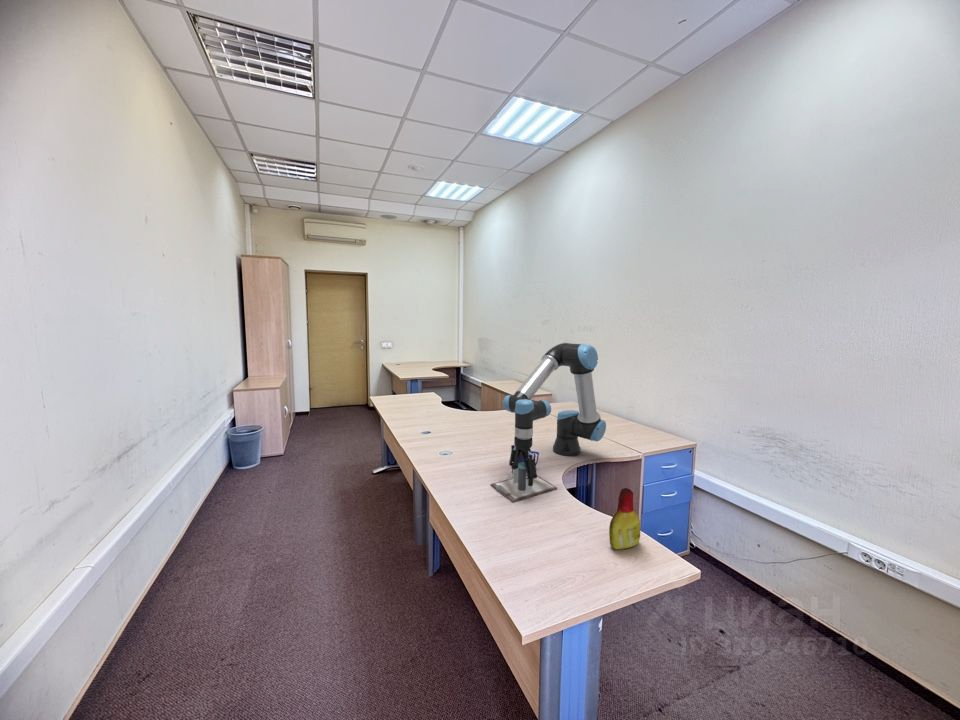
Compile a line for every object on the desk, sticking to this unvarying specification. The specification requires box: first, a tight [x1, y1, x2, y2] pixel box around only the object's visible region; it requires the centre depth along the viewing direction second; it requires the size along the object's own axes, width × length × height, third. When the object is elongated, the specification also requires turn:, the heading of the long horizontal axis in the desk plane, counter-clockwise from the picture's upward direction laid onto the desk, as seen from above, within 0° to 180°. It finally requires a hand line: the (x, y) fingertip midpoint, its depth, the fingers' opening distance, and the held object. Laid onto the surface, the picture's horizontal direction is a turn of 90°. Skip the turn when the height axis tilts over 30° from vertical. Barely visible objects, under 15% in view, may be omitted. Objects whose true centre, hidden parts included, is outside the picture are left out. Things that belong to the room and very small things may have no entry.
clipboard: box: [489, 474, 558, 504], centre depth 160 cm, size 24×17×2 cm
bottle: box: [608, 487, 641, 550], centre depth 119 cm, size 12×6×20 cm, turn 111°
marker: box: [518, 462, 527, 493], centre depth 154 cm, size 4×4×12 cm
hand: (521, 487), depth 154 cm, fingers open, 9 cm apart
